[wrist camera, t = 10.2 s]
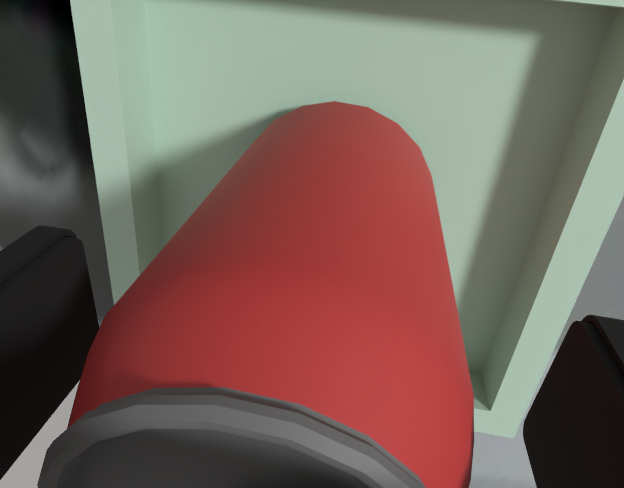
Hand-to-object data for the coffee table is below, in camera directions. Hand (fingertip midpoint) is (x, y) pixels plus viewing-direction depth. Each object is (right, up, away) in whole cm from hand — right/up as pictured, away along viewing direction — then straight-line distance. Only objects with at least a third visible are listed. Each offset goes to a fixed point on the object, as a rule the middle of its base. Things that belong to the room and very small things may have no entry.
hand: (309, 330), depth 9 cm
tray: (+1, +4, +8) cm, 9 cm away
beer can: (+1, +4, +7) cm, 8 cm away
